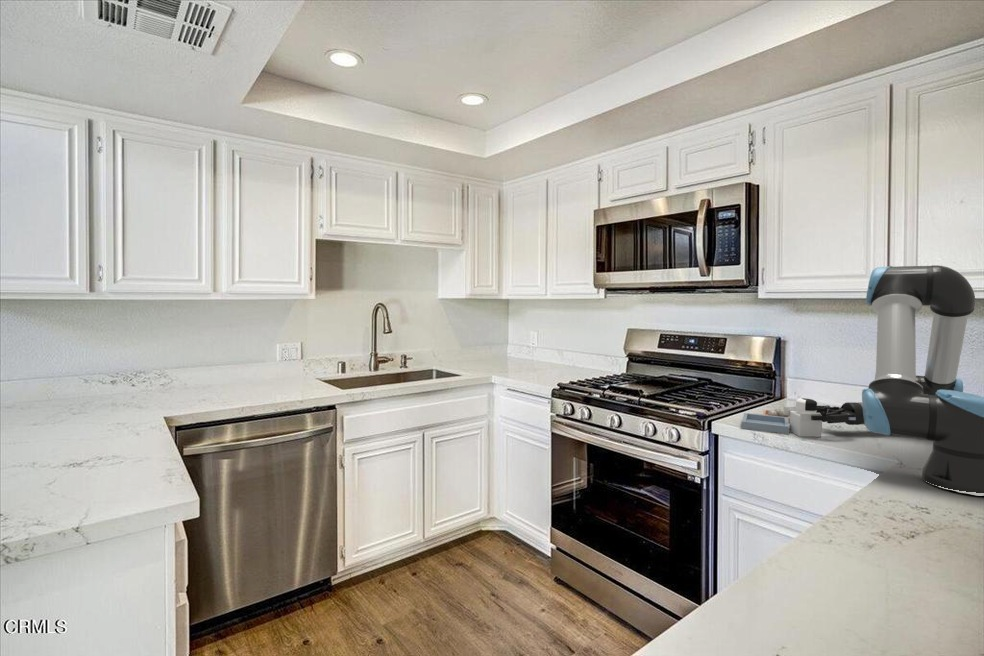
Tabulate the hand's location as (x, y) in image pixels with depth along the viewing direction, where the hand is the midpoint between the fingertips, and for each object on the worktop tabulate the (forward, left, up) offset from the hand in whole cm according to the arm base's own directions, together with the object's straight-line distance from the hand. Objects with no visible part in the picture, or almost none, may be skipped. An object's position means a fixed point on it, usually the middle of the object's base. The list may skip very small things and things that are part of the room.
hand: (792, 413), depth 171 cm
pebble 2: (+22, +4, -5) cm, 23 cm away
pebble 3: (+19, +2, -5) cm, 20 cm away
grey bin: (+6, +8, -7) cm, 12 cm away
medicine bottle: (+2, -4, -7) cm, 9 cm away
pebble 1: (+19, +6, -5) cm, 20 cm away
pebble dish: (+20, +4, -7) cm, 22 cm away
